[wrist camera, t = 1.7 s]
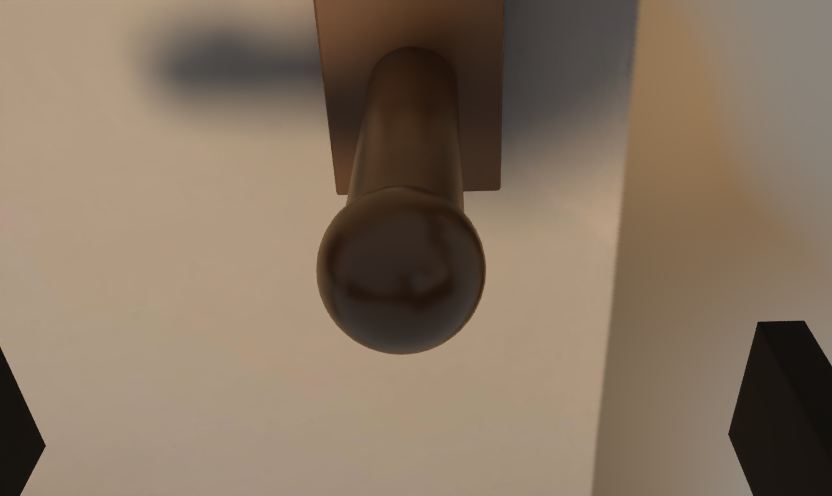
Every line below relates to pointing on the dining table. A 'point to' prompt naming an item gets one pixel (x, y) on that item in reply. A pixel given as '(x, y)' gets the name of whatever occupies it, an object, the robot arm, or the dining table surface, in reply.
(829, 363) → the robot arm
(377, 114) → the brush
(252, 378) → the dining table surface
